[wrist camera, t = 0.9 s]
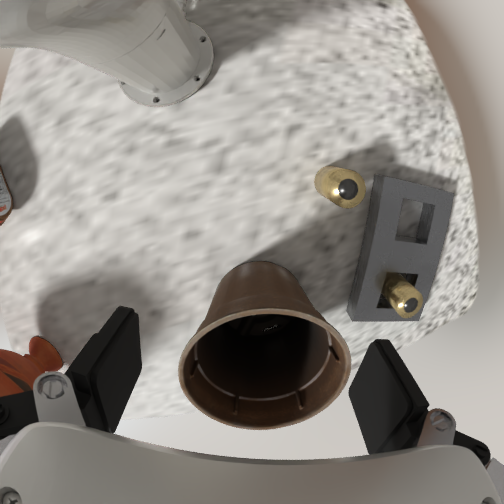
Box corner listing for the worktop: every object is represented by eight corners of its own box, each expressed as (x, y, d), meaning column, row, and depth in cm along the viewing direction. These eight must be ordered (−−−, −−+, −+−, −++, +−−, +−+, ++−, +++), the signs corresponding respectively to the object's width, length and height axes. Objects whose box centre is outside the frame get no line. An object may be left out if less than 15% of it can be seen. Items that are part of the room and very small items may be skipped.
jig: (374, 174, 34) (400, 180, 27) (442, 190, 34) (472, 199, 27) (346, 310, 40) (361, 338, 34) (410, 311, 41) (430, 335, 34)
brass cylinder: (316, 163, 33) (332, 167, 27) (346, 168, 33) (368, 173, 27) (312, 195, 35) (327, 205, 28) (342, 199, 35) (362, 210, 28)
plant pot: (283, 221, 36) (309, 273, 21) (334, 314, 41) (370, 392, 25) (179, 281, 38) (143, 356, 23) (240, 359, 43) (238, 443, 28)
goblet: (5, 336, 43) (-53, 402, 20) (30, 297, 40) (-53, 377, 16) (61, 395, 49) (19, 472, 25) (98, 371, 45) (46, 473, 21)
